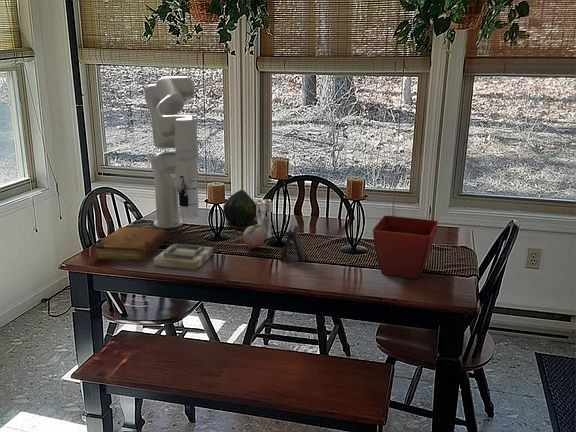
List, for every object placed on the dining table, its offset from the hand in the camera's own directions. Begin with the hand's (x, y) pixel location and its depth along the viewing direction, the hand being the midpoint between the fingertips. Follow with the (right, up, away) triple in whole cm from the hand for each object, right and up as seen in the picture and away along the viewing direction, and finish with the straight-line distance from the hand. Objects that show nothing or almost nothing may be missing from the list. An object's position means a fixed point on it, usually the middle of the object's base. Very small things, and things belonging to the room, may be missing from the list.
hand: (188, 202), depth 206 cm
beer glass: (+26, -13, +31) cm, 42 cm away
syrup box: (0, -5, +2) cm, 5 cm away
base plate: (-3, -21, +6) cm, 22 cm away
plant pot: (+75, -24, -3) cm, 79 cm away
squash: (+14, -8, +49) cm, 52 cm away
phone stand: (+37, -21, +7) cm, 43 cm away
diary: (-24, -18, +15) cm, 34 cm away
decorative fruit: (+22, -17, +18) cm, 33 cm away
